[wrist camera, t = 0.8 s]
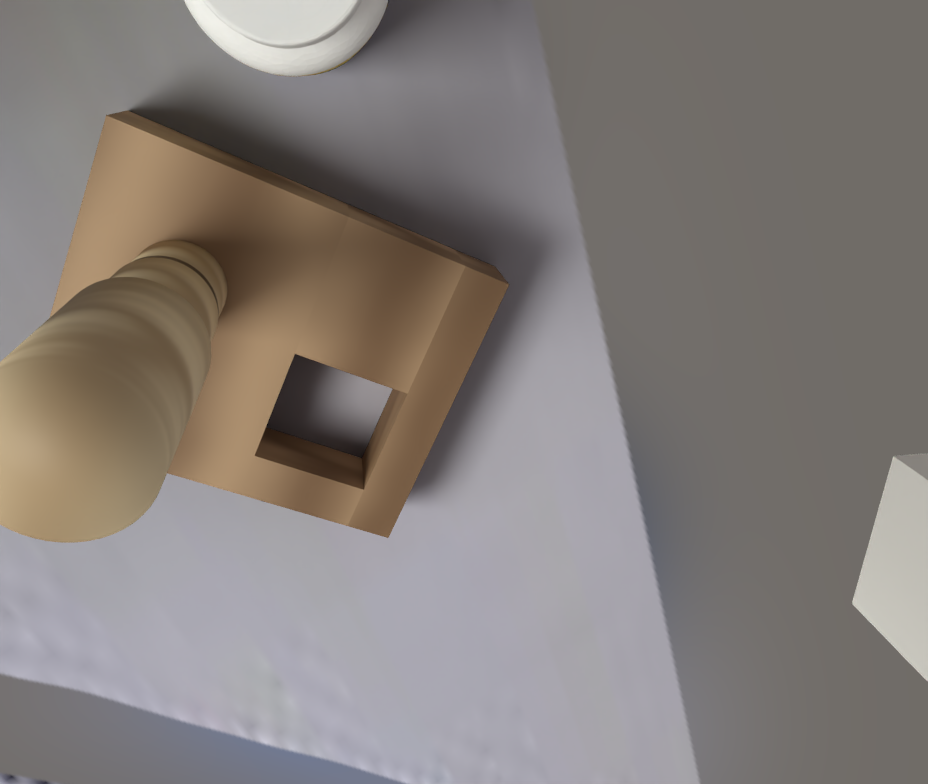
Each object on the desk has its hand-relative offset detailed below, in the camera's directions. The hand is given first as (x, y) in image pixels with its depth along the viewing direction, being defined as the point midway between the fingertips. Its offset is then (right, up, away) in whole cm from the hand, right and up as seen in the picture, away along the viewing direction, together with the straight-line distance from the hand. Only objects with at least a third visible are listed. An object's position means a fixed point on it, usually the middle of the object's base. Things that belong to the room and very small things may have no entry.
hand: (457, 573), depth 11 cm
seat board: (-8, +5, +23) cm, 25 cm away
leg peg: (-11, +7, +19) cm, 23 cm away
